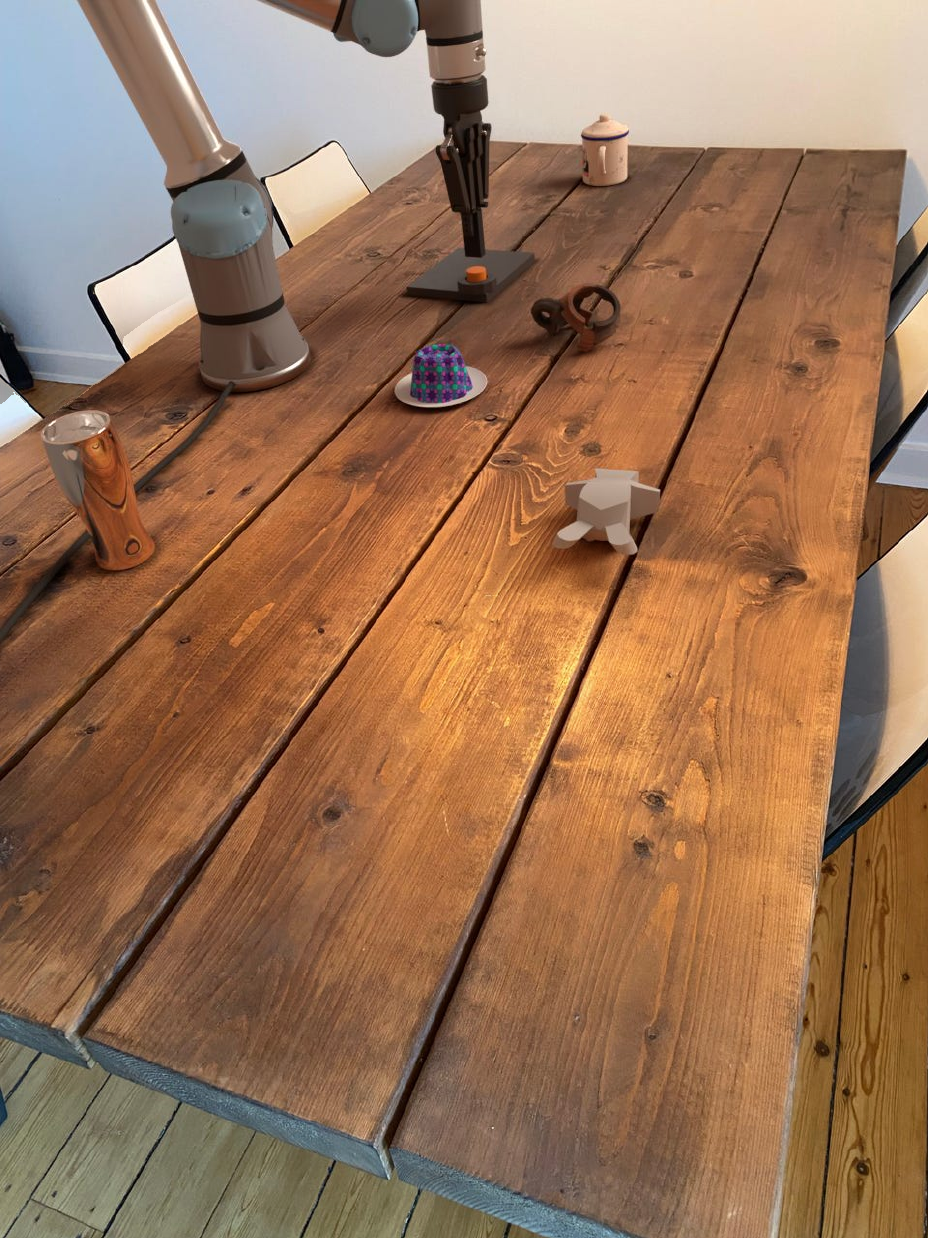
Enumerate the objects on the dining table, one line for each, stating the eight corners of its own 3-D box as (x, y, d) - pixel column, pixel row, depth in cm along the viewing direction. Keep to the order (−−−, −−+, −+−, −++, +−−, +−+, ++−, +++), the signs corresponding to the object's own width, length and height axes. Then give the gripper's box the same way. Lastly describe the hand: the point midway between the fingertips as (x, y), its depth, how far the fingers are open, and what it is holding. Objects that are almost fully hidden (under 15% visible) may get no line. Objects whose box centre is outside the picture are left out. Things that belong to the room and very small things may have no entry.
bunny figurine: (667, 459, 96) (645, 527, 84) (664, 504, 99) (643, 577, 87) (575, 453, 98) (541, 518, 87) (574, 497, 101) (542, 566, 89)
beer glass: (134, 528, 103) (86, 402, 94) (172, 547, 100) (126, 419, 90) (79, 560, 100) (23, 433, 90) (117, 581, 96) (63, 451, 86)
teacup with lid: (584, 174, 190) (583, 110, 183) (630, 172, 188) (630, 107, 181) (577, 192, 182) (576, 125, 174) (625, 190, 180) (626, 122, 172)
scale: (487, 305, 142) (485, 285, 140) (404, 297, 148) (401, 278, 146) (537, 261, 155) (536, 242, 153) (459, 255, 161) (457, 237, 159)
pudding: (497, 371, 125) (494, 332, 121) (474, 414, 116) (470, 374, 113) (411, 368, 128) (406, 331, 125) (382, 410, 119) (375, 371, 116)
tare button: (481, 284, 142) (480, 273, 141) (463, 282, 143) (462, 272, 142) (489, 276, 144) (489, 266, 143) (472, 275, 145) (471, 265, 144)
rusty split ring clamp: (607, 322, 134) (625, 280, 127) (608, 376, 131) (627, 336, 123) (524, 309, 133) (538, 267, 125) (523, 364, 129) (537, 323, 122)
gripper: (461, 88, 121) (478, 272, 136) (504, 65, 129) (516, 241, 144) (410, 89, 124) (433, 269, 139) (455, 67, 132) (472, 239, 147)
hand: (475, 255), depth 142 cm, fingers closed
